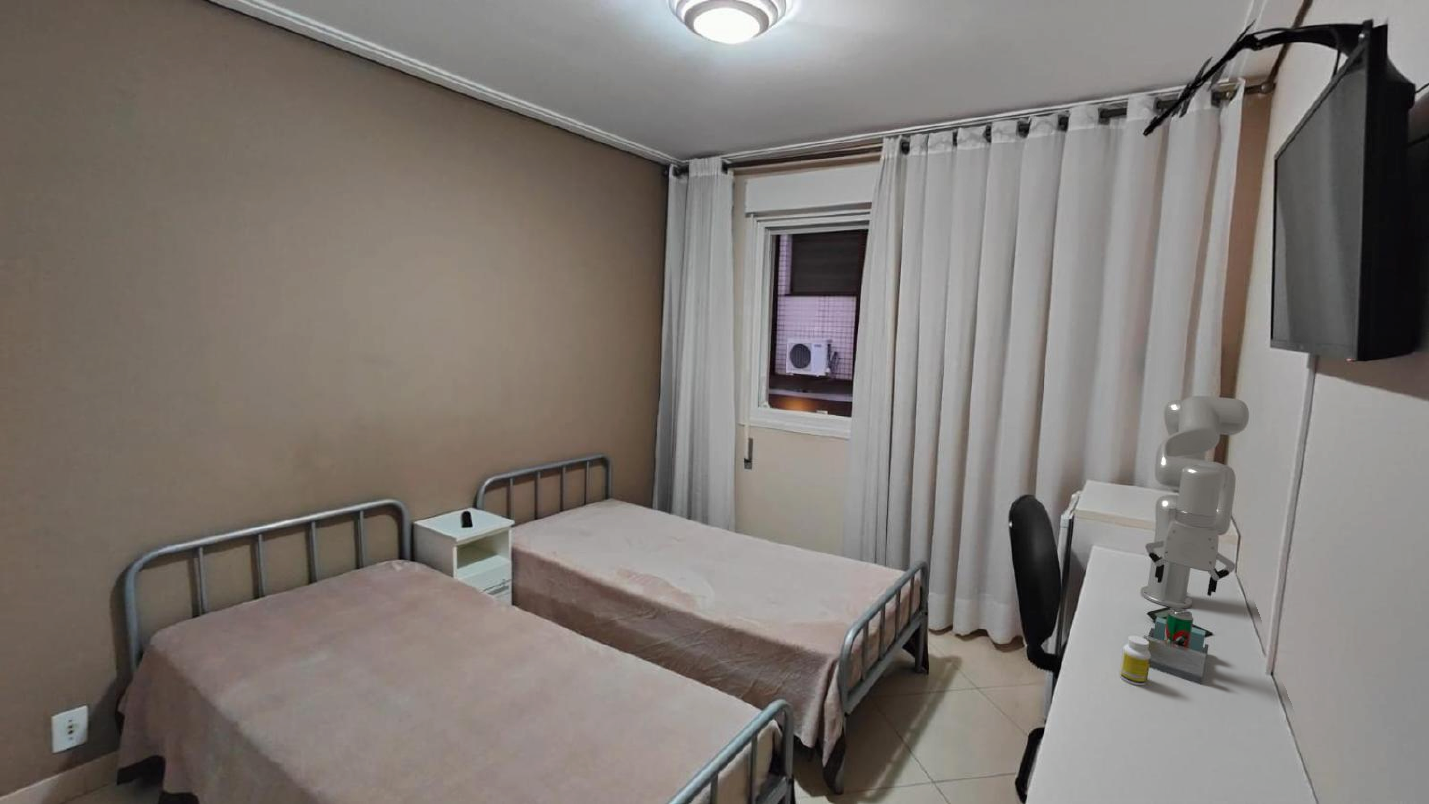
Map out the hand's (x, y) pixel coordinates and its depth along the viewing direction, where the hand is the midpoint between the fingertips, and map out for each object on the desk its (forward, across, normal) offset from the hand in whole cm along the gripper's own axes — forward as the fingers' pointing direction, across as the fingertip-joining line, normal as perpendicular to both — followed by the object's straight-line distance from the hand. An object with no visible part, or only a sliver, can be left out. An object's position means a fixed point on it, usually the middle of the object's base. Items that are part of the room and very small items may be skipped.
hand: (1184, 587), depth 152 cm
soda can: (+18, 0, 0) cm, 18 cm away
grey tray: (+20, 0, +2) cm, 20 cm away
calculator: (+20, -1, +24) cm, 31 cm away
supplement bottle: (+20, -6, -16) cm, 26 cm away
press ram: (+18, 0, +8) cm, 20 cm away
